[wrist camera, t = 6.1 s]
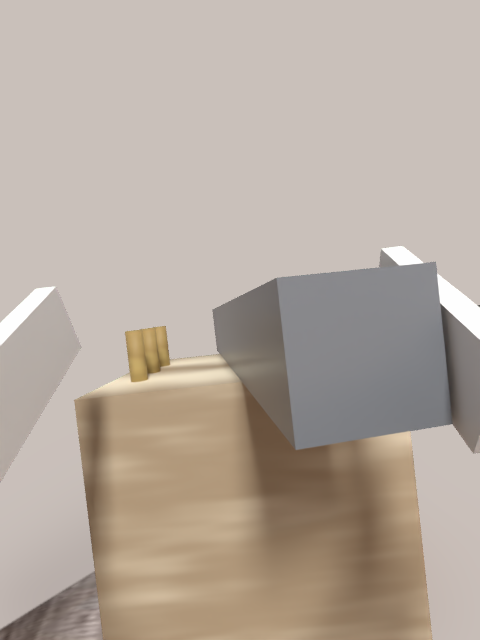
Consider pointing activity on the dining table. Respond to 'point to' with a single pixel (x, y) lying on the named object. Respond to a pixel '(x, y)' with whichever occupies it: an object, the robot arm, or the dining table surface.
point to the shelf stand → (241, 514)
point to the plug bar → (341, 352)
